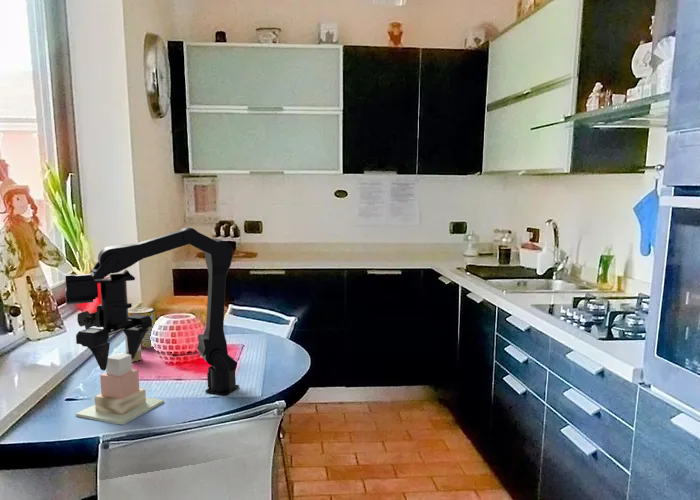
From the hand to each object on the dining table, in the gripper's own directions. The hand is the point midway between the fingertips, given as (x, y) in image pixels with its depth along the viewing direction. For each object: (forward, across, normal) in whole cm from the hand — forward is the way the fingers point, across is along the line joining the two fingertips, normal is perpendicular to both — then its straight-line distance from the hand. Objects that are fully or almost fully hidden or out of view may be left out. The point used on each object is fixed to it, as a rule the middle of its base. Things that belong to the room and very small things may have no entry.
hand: (118, 364), depth 135 cm
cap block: (+2, 0, 0) cm, 2 cm away
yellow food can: (+11, -45, -33) cm, 57 cm away
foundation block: (+11, 0, 0) cm, 11 cm away
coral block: (+7, 0, 0) cm, 7 cm away
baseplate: (+11, 0, 0) cm, 11 cm away
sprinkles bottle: (+11, -31, -24) cm, 41 cm away
